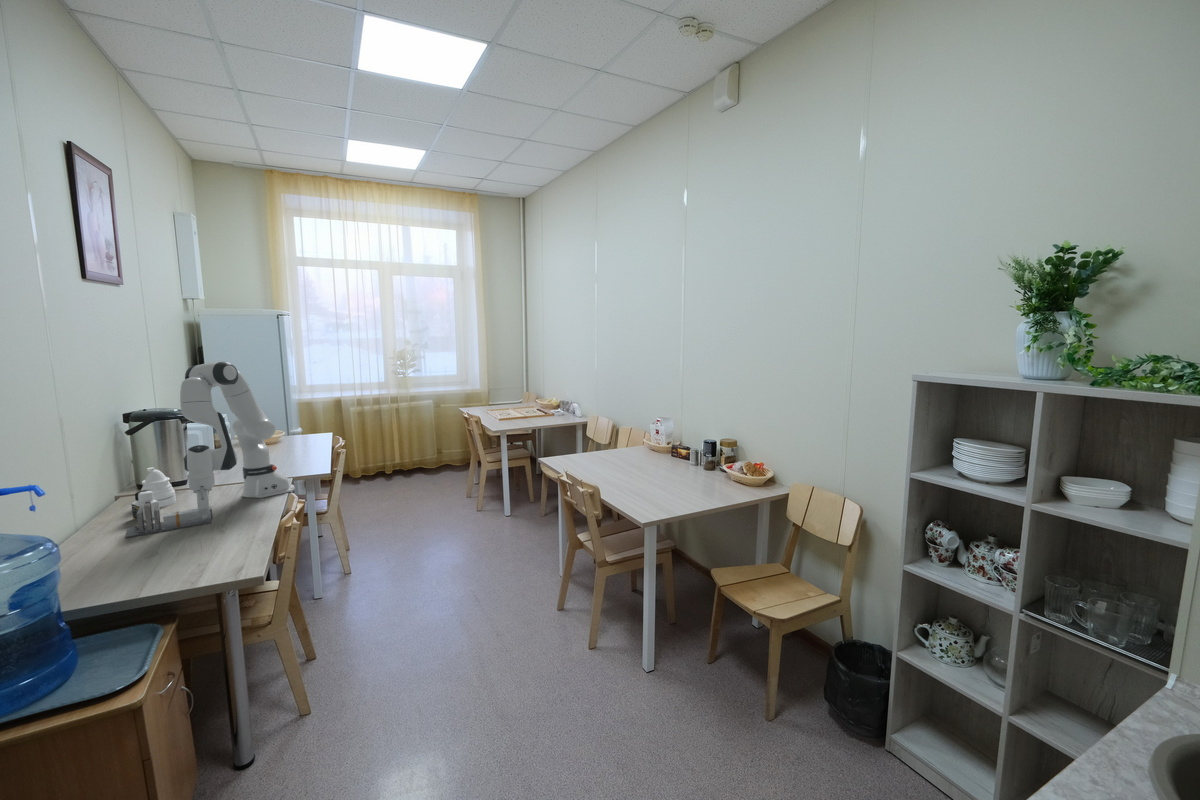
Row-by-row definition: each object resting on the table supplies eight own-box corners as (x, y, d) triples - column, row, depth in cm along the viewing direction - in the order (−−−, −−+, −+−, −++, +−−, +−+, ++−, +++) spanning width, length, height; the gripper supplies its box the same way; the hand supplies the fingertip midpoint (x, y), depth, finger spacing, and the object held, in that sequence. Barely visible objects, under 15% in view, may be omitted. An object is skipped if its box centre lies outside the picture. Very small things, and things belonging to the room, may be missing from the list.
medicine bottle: (132, 518, 222) (129, 492, 220) (153, 513, 228) (150, 487, 226) (140, 521, 218) (137, 494, 217) (160, 516, 225) (158, 490, 223)
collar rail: (210, 515, 227) (208, 490, 225) (211, 522, 218) (209, 497, 216) (128, 529, 210) (125, 502, 209) (125, 538, 201) (122, 510, 199)
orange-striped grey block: (212, 515, 224) (211, 506, 224) (212, 518, 221) (211, 509, 220) (164, 524, 214) (163, 513, 214) (164, 527, 211) (163, 517, 210)
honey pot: (159, 509, 234) (155, 470, 232) (132, 508, 234) (127, 470, 232) (183, 500, 247) (179, 463, 244) (157, 499, 247) (153, 463, 245)
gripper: (211, 488, 213) (214, 520, 215) (210, 477, 229) (213, 507, 231) (192, 490, 209) (194, 523, 211) (193, 479, 225) (195, 509, 227)
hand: (204, 514), depth 221 cm, fingers open, 8 cm apart
